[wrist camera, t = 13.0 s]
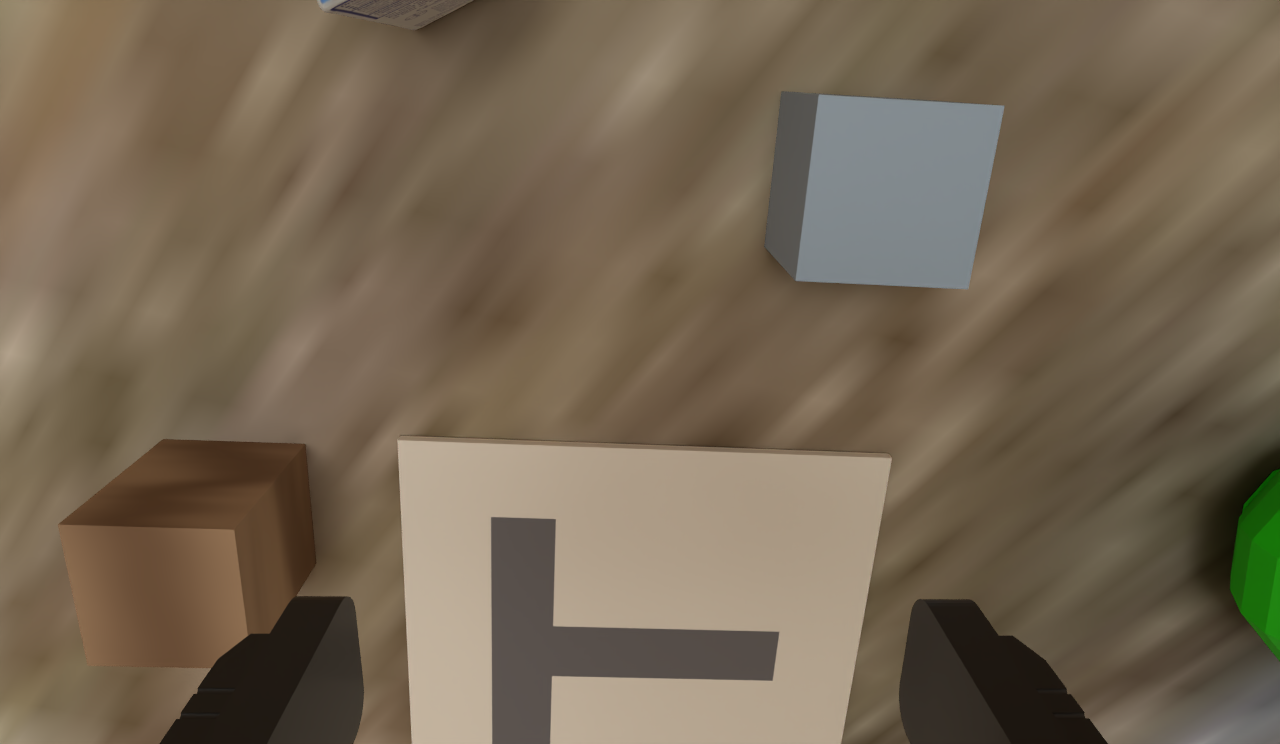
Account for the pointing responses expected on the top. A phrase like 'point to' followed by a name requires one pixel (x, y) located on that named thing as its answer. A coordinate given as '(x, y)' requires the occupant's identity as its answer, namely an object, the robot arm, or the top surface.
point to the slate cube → (880, 188)
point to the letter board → (633, 590)
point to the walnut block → (190, 552)
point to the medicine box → (394, 10)
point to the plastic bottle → (1259, 562)
